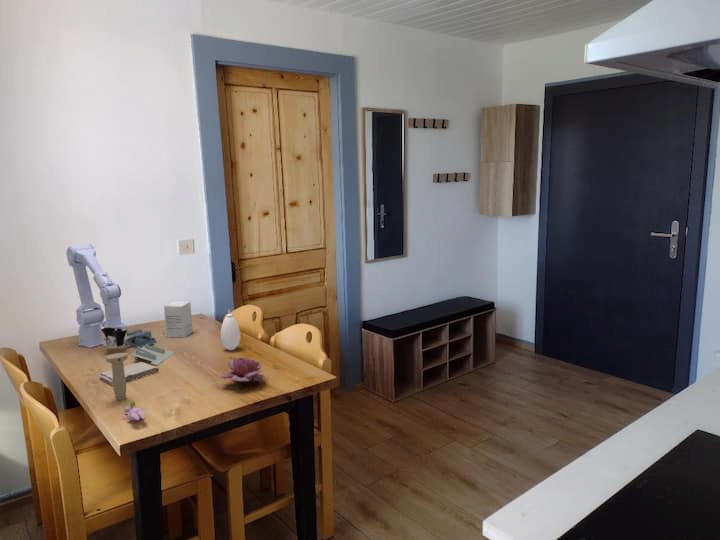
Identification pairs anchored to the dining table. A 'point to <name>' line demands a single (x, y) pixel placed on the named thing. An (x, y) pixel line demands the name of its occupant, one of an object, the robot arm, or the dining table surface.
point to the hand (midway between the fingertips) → (115, 344)
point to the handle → (118, 374)
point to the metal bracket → (152, 354)
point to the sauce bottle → (230, 332)
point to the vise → (134, 339)
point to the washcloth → (130, 372)
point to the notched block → (113, 339)
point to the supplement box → (178, 319)
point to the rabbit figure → (134, 412)
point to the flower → (244, 370)
